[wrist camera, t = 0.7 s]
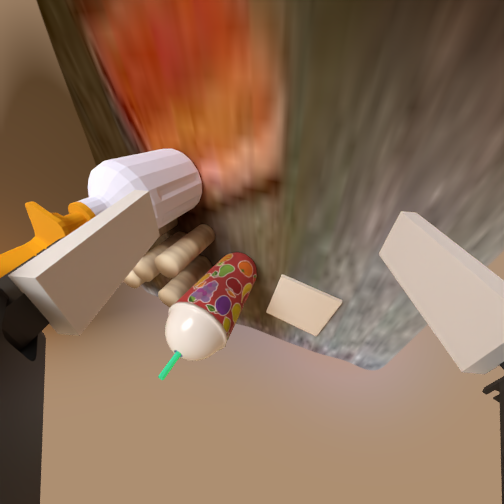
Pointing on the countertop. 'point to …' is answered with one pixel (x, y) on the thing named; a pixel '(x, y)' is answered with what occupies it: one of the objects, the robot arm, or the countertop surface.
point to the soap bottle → (116, 198)
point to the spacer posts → (175, 262)
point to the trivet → (302, 305)
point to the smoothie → (209, 310)
